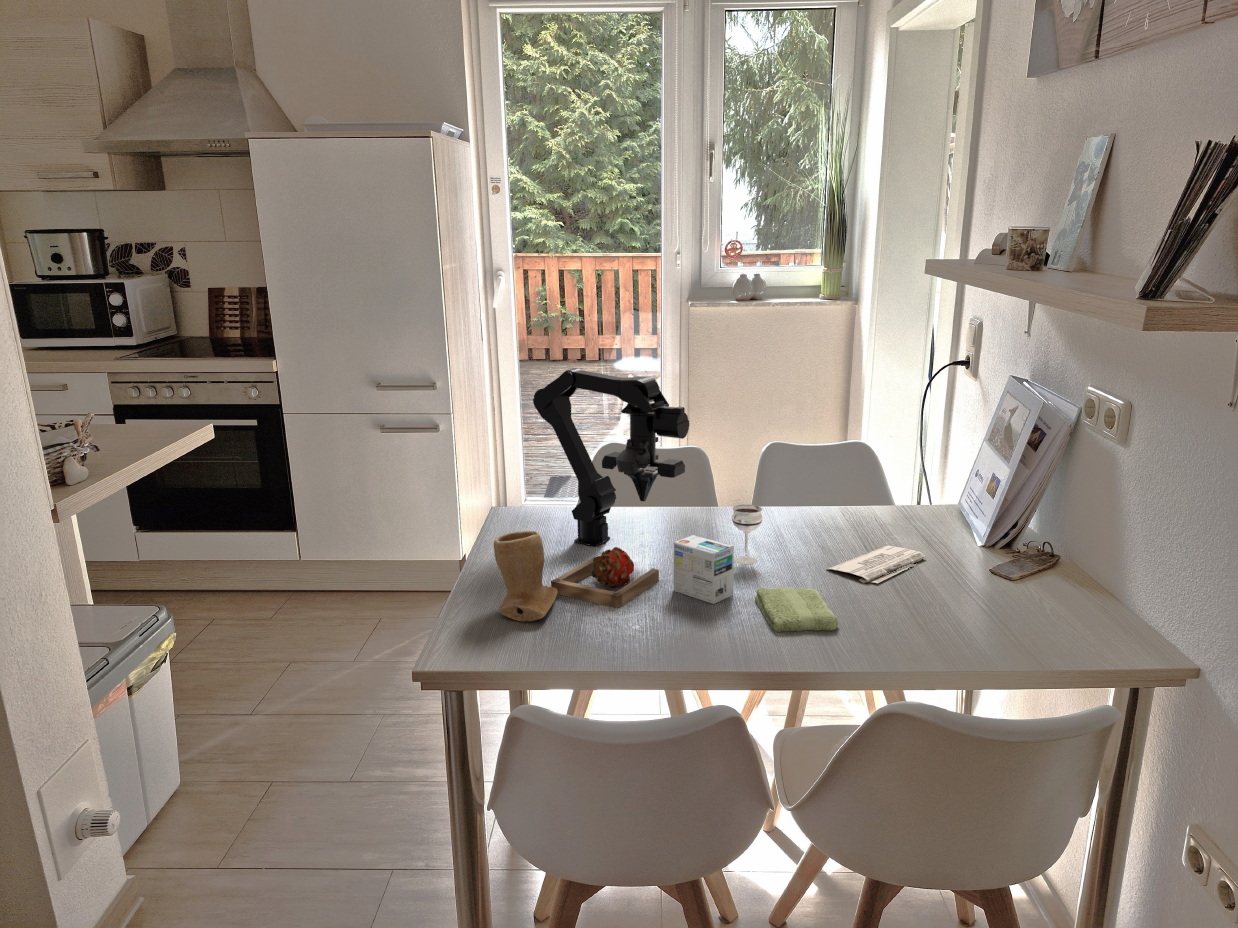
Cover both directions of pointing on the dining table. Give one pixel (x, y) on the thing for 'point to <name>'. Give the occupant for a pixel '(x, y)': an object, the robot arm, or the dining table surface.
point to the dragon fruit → (613, 567)
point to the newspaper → (880, 563)
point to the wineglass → (746, 525)
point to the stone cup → (523, 576)
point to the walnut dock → (570, 588)
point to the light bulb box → (703, 568)
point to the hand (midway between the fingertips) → (643, 500)
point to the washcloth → (795, 609)
